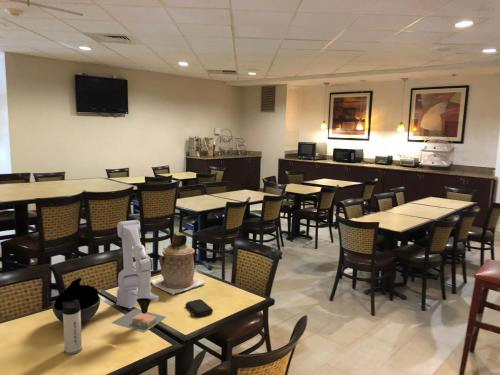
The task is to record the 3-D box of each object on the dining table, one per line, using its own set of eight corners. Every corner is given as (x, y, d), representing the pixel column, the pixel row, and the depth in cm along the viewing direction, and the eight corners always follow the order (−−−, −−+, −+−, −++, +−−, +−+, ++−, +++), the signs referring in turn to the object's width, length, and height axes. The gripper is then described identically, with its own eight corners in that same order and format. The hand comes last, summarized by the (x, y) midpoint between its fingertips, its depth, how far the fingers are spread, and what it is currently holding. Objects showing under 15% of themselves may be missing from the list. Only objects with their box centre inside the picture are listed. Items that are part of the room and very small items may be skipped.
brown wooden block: (132, 317, 173) (147, 322, 169) (141, 312, 178) (156, 316, 174) (132, 323, 173) (147, 327, 169) (141, 317, 178) (156, 322, 175)
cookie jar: (207, 284, 221) (208, 231, 216) (172, 296, 203) (172, 239, 199) (182, 273, 238) (182, 223, 233) (147, 283, 220) (146, 230, 216)
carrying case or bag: (182, 307, 192) (194, 319, 180) (182, 301, 191) (194, 313, 179) (201, 302, 198) (214, 314, 185) (201, 297, 197) (214, 308, 185)
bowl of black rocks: (82, 336, 162) (80, 294, 159) (42, 329, 166) (40, 289, 164) (109, 315, 181) (108, 277, 178) (73, 309, 186) (72, 273, 183)
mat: (111, 323, 173) (111, 322, 173) (135, 309, 188) (135, 308, 187) (144, 333, 165) (144, 332, 165) (166, 318, 180) (166, 317, 180)
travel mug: (67, 346, 154) (65, 299, 151) (84, 345, 155) (82, 299, 152) (61, 355, 148) (58, 306, 145) (78, 354, 149) (76, 306, 146)
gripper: (125, 284, 171) (126, 312, 172) (151, 290, 165) (151, 320, 166) (136, 279, 177) (136, 306, 179) (161, 285, 171) (161, 313, 173)
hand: (144, 312), depth 173 cm, fingers closed
